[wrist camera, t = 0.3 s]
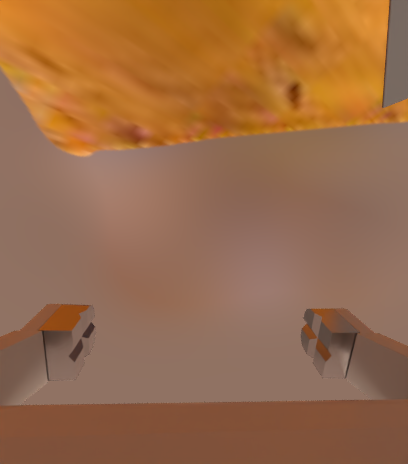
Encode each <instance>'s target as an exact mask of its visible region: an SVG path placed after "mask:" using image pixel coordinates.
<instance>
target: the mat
mask: <svg viewBox="0 0 408 464" xmlns="http://www.w3.org/2000/svg"><path fill="white" fill-rule="evenodd" d="M407 98H408V0H390V6H389V20H388V35H387V49H386V63H385V78H384V92H383V106H382V107H383V108H384V107H387V106H390V105H392V104H395V103H397V102H400V101H402V100H405V99H407Z"/></svg>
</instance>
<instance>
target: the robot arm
mask: <svg viewBox="0 0 408 464" xmlns="http://www.w3.org/2000/svg"><path fill="white" fill-rule="evenodd" d="M94 316H95V315H94V307H93V306H92V305H73V304H47V305H46V306H45V307H44V308H43V309H42V310H41V311H40V312H39V313H38V314H37V315H36V316H35V317H34V318H33V319H32V320H30V321H29V323H27V324H26V325H25V326H24V327H23V328H22V329H21V330H20V331H13V332H11V333H8V334H6V335H3V336H1V337H0V464H408V346H407V345H404V344H402V343H400V342H397V341H395V340H393V339H391V338H388V337H386V336H383V335H381V334H379V333H374V332H373V331H372V330H370V329H369V328H368V327H367V326H366V325H365V324H364V323H362V322H361V321H360V320H359V319H358V318H356V317H355V316H354V315H353V314H352V313H351V312H350V311H348V310H347V309H344V308H337V309H307V310H306V311H305V314H304V320H305V322H306V325H305V326H304V327H303V328H302V330H301V342H302V346H303V348H304V350H305V352H306V354H308V355H309V356H311V357H312V358H314V359H313V364H314V366H315V367H316V369H317V370H318V372H319V373H320V375H321V376H322V378H346V380H347V381H348V382H350V383H351V384H352V385H354V386H355V387H356V388H358V389H359V390H360V391H361V392H363V393H364V394H365V395H367V396H368V397H369V398H370V399H372V400H323V401H267V402H266V401H263V402H262V401H261V402H204V403H203V402H199V403H137V404H136V403H135V404H134V403H131V404H70V405H69V404H68V405H20V404H21V403H23V402H24V401H25V400H26V399H28V398H29V397H30V396H31V395H33V394H34V393H35V392H36V391H38V390H39V389H40V388H41V387H43V386H44V385H45V384H46V383H48V381H58V380H76V379H77V377H78V375H79V373H80V371H81V369H82V367H83V366H84V357H86V356H87V355H89V354H90V352H91V350H92V348H93V344H94V341H95V334H96V331H95V326H94V325H93V323H92V322H91V321H92V320H93V318H94Z"/></svg>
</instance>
